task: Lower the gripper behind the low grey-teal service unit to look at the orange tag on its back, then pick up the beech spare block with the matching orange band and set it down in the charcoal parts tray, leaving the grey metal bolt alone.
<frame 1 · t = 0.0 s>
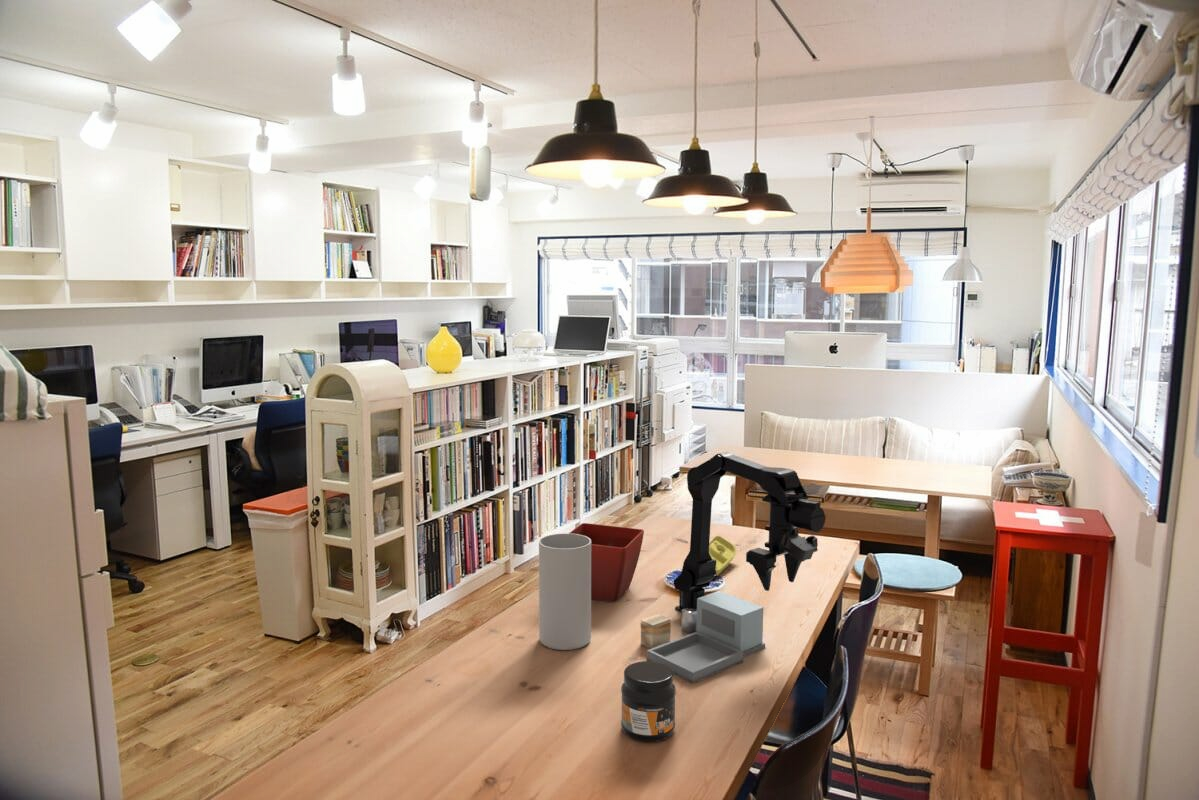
hand: (779, 586, 200), 15 cm above the table, tool pointing down, fingers open, 9 cm apart
service unit: (728, 642, 203), on the table
spare block: (655, 643, 202), on the table
cylinder vase: (565, 641, 203), on the table
supplement container: (647, 731, 163), on the table
plastic component: (711, 568, 258), on the table
parts tray: (694, 661, 192), on the table
grey metal bolt: (690, 630, 210), on the table
plant pot: (602, 593, 236), on the table
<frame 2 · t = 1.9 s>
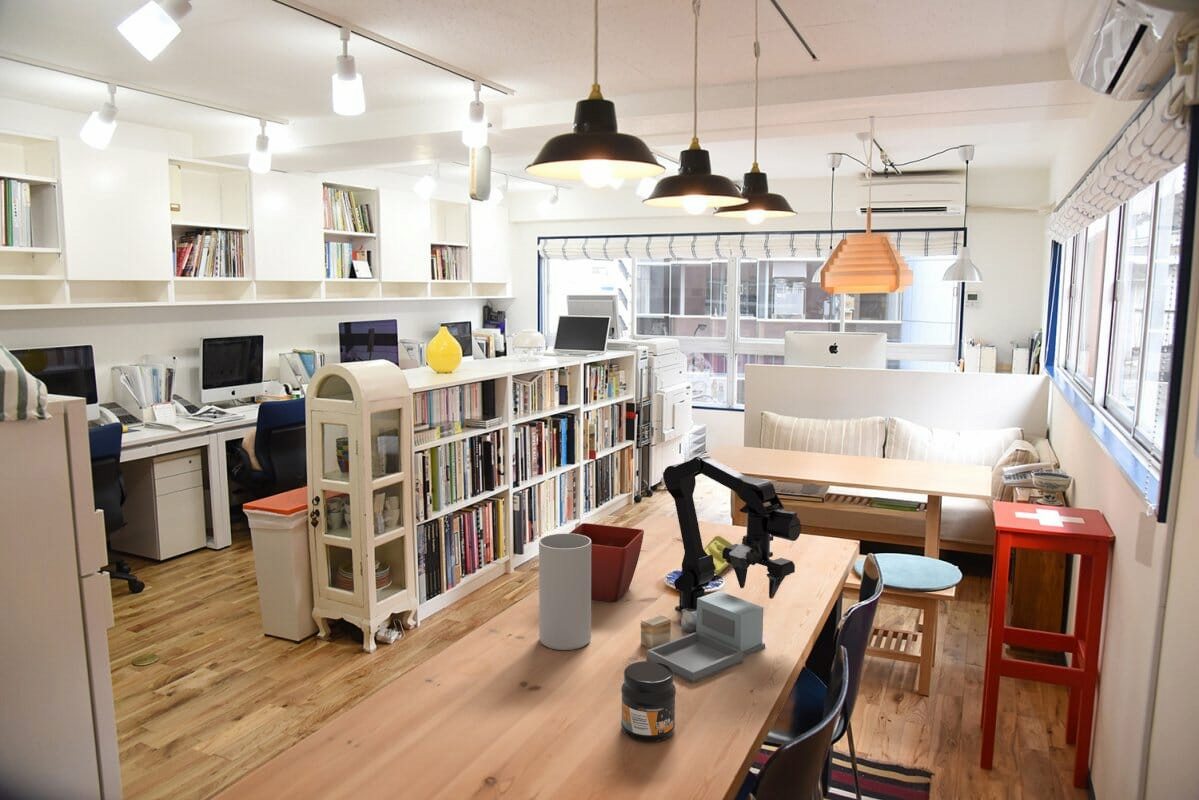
hand: (756, 593, 208), 10 cm above the table, tool pointing down, fingers open, 9 cm apart
nothing on the table moved.
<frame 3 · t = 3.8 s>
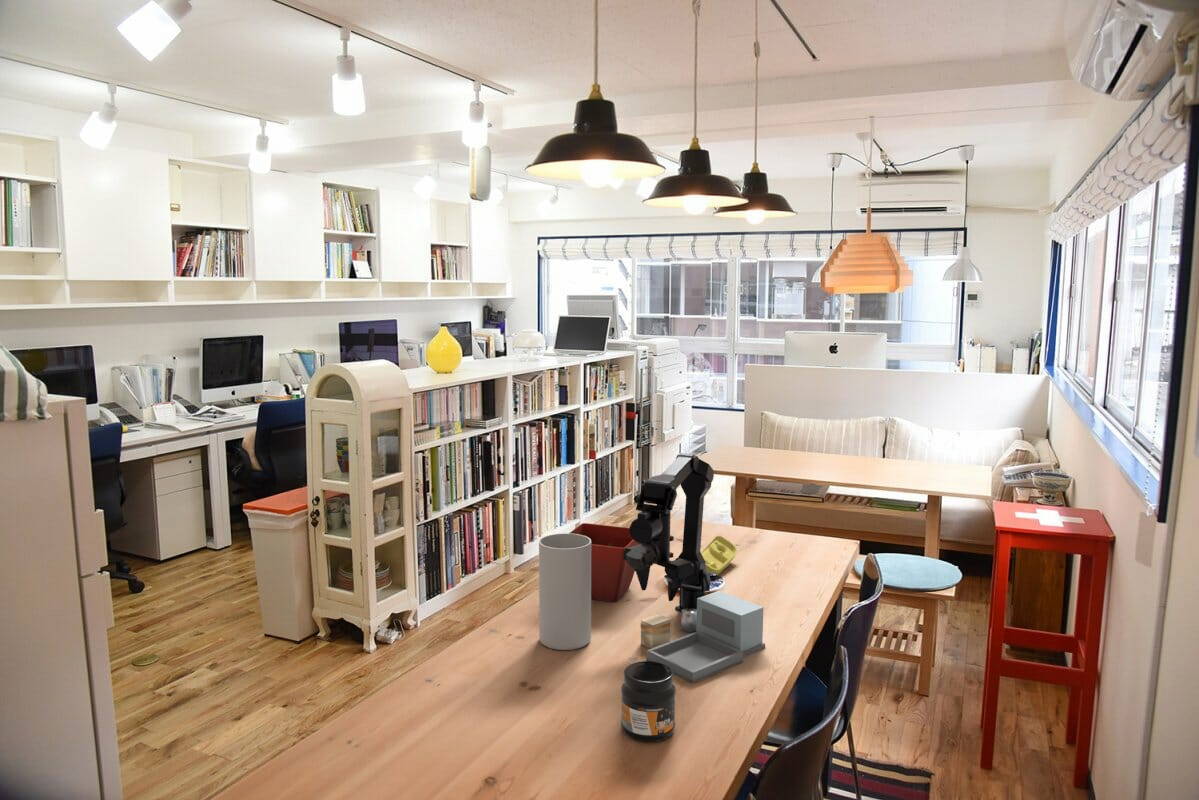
hand: (657, 595, 201), 12 cm above the table, tool pointing down, fingers open, 9 cm apart
nothing on the table moved.
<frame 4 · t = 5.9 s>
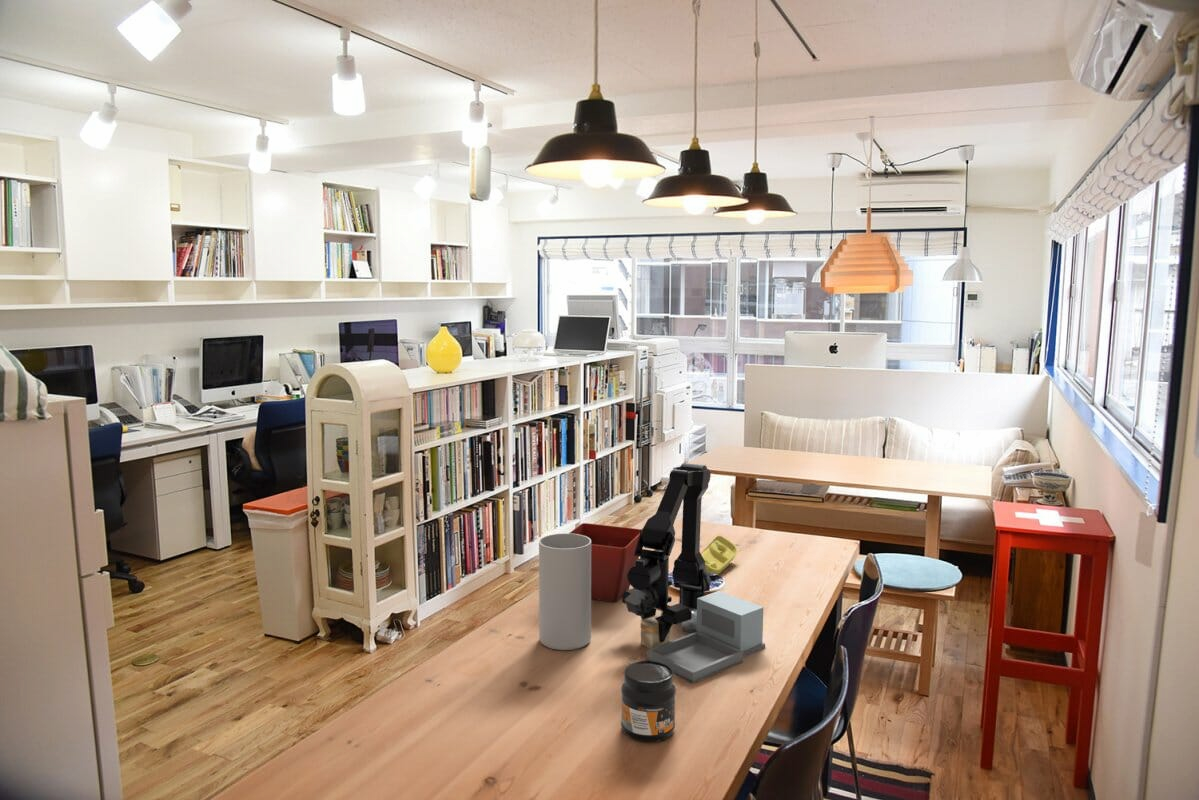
hand: (655, 638, 202), 1 cm above the table, tool pointing down, fingers closed on spare block, 4 cm apart
spare block: (655, 643, 202), on the table, touching gripper
everything else where it was.
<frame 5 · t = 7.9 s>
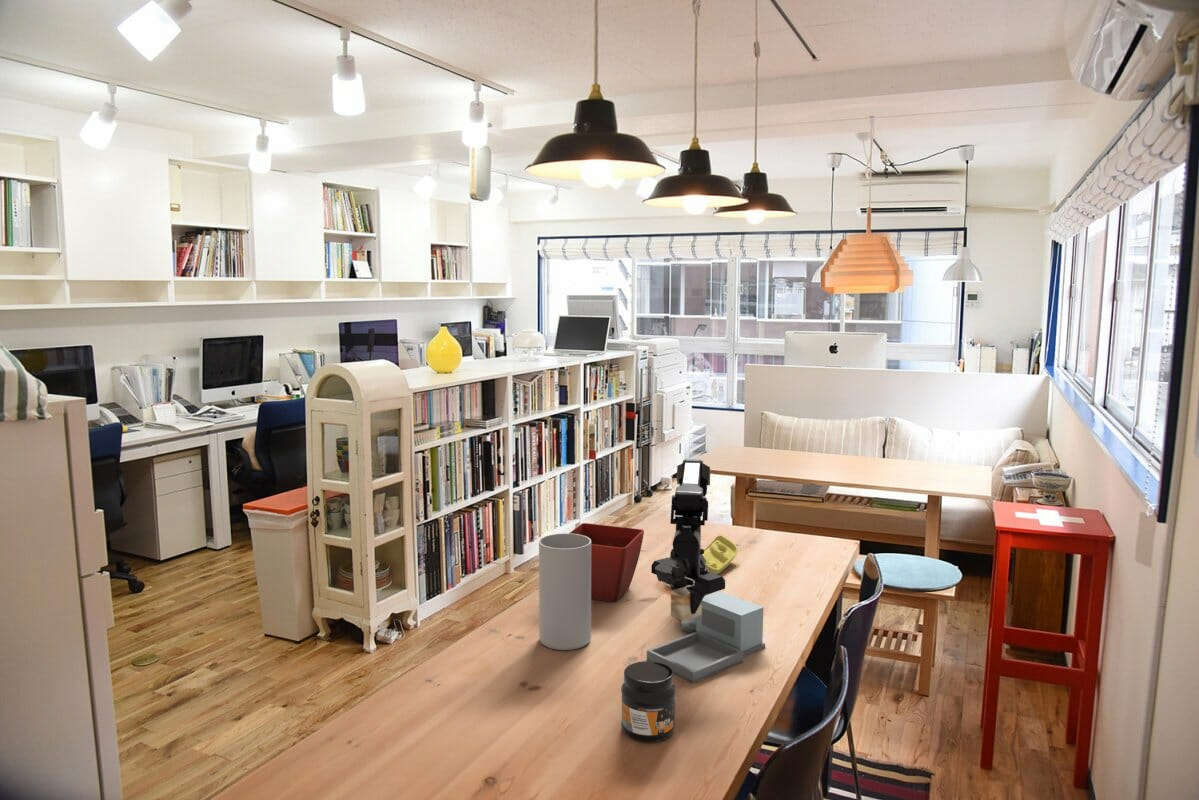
hand: (686, 610, 193), 11 cm above the table, tool pointing down, fingers closed on spare block, 4 cm apart
spare block: (686, 615, 193), point 10 cm above the table, touching gripper
everything else where it was.
when the fingers open (3 cm above the table, at t = 10.3 s): spare block drops 1 cm, resting on parts tray.
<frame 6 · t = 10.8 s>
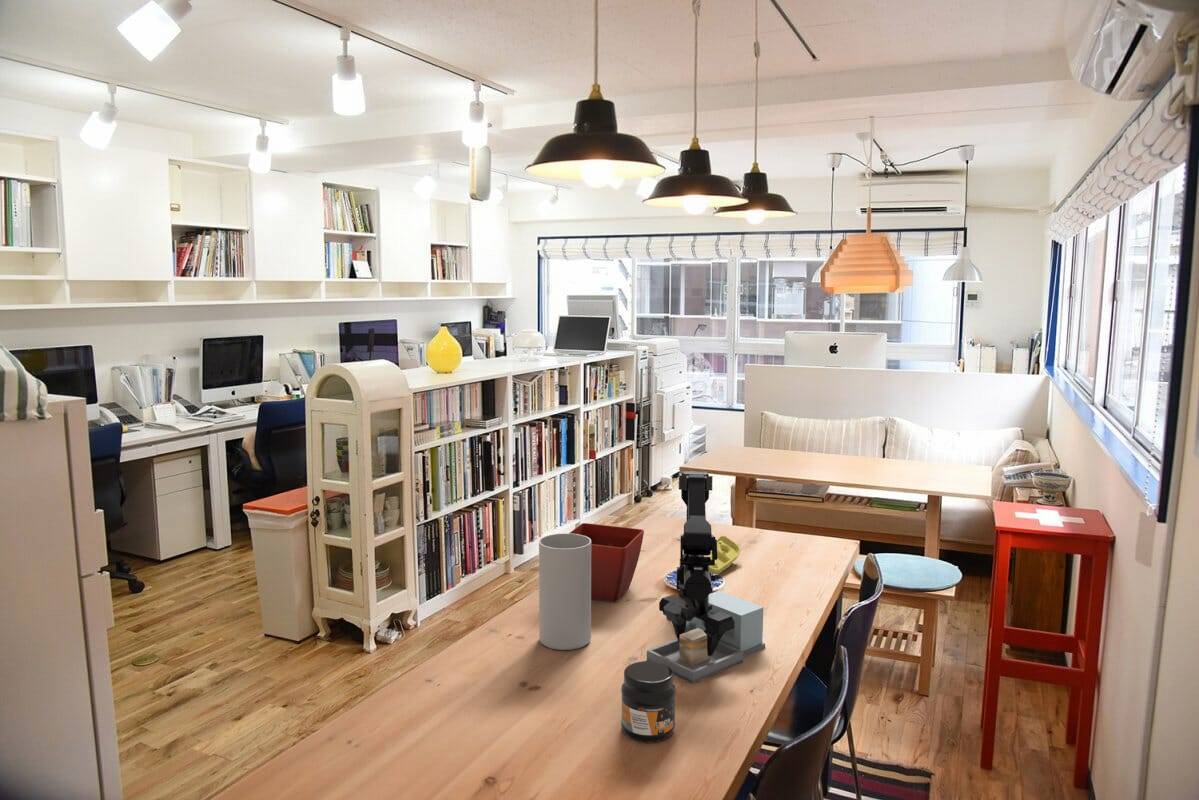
hand: (695, 648, 192), 3 cm above the table, tool pointing down, fingers open, 9 cm apart
spare block: (694, 658, 192), point 1 cm above the table, touching parts tray
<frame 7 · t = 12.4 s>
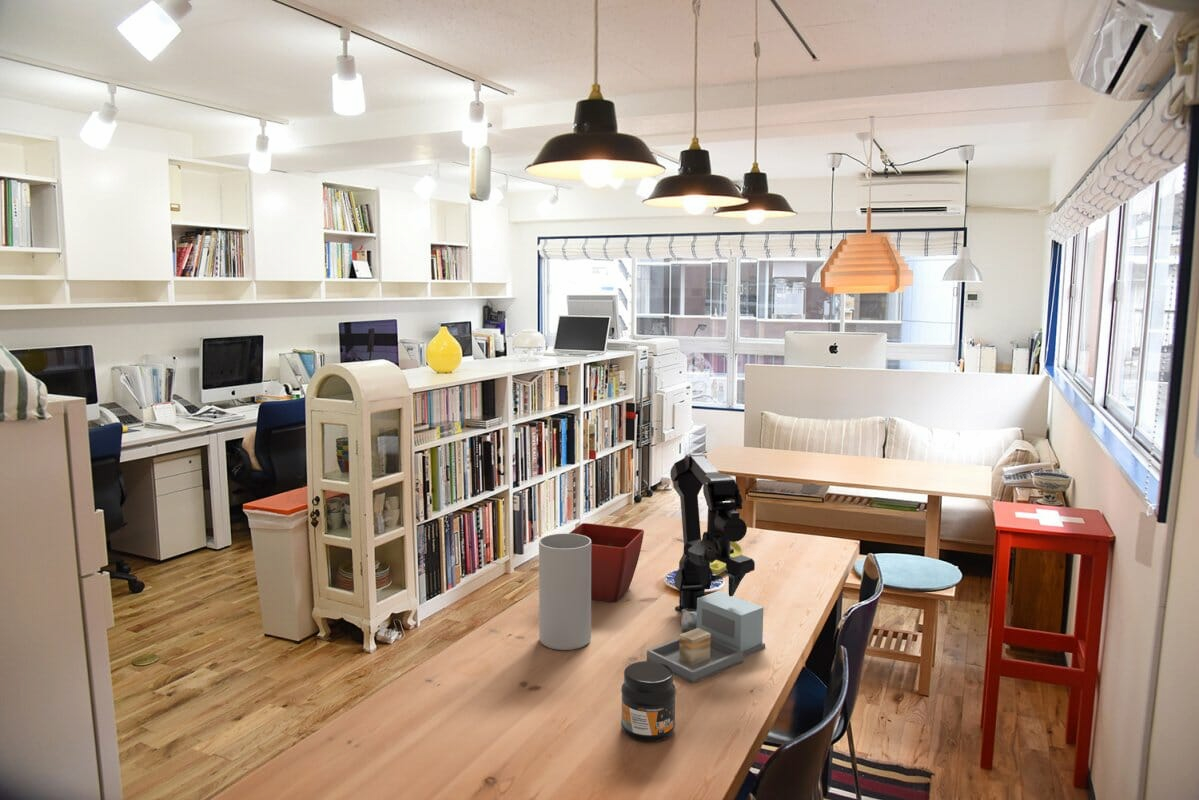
hand: (717, 590, 204), 12 cm above the table, tool pointing down, fingers open, 9 cm apart
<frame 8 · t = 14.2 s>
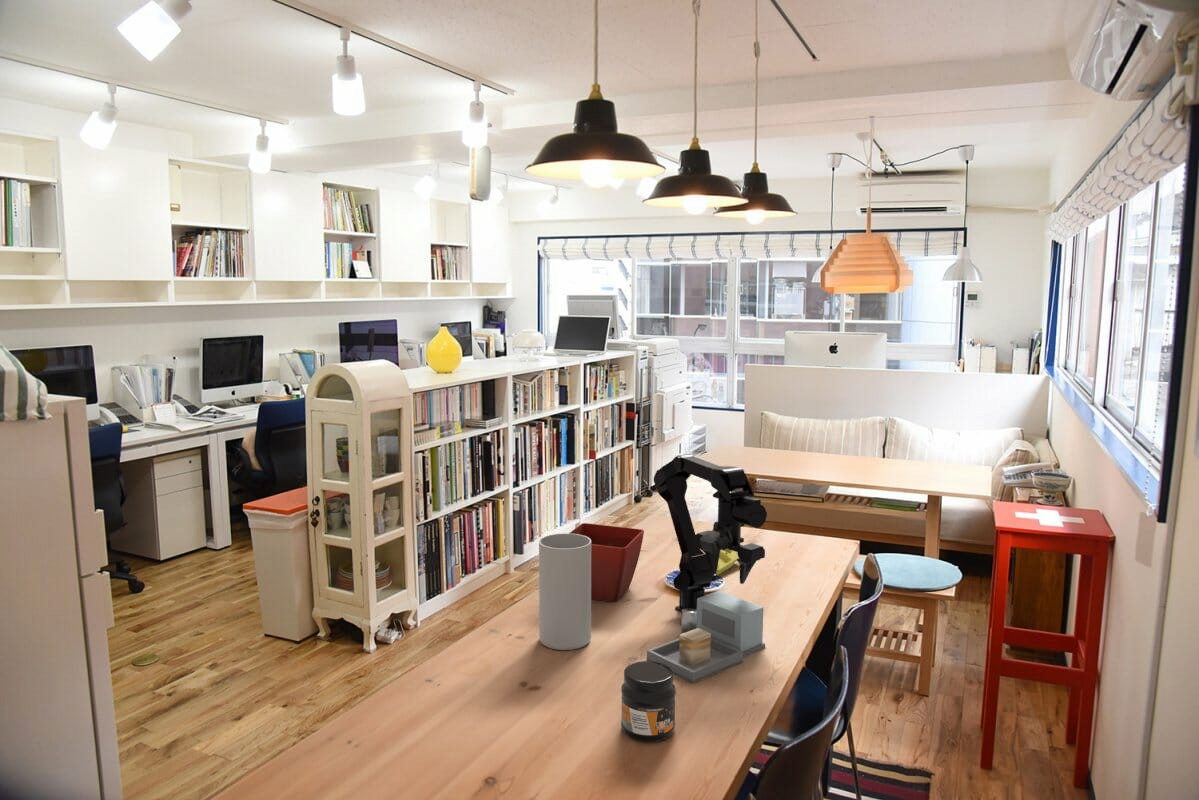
hand: (727, 578, 209), 13 cm above the table, tool pointing down, fingers open, 9 cm apart
at the end: spare block inside the target area on the parts tray (0.1 cm from its centre), point 0.6 cm above the parts tray's base; the gripper is holding nothing; grey metal bolt moved 0.1 cm from its start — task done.
